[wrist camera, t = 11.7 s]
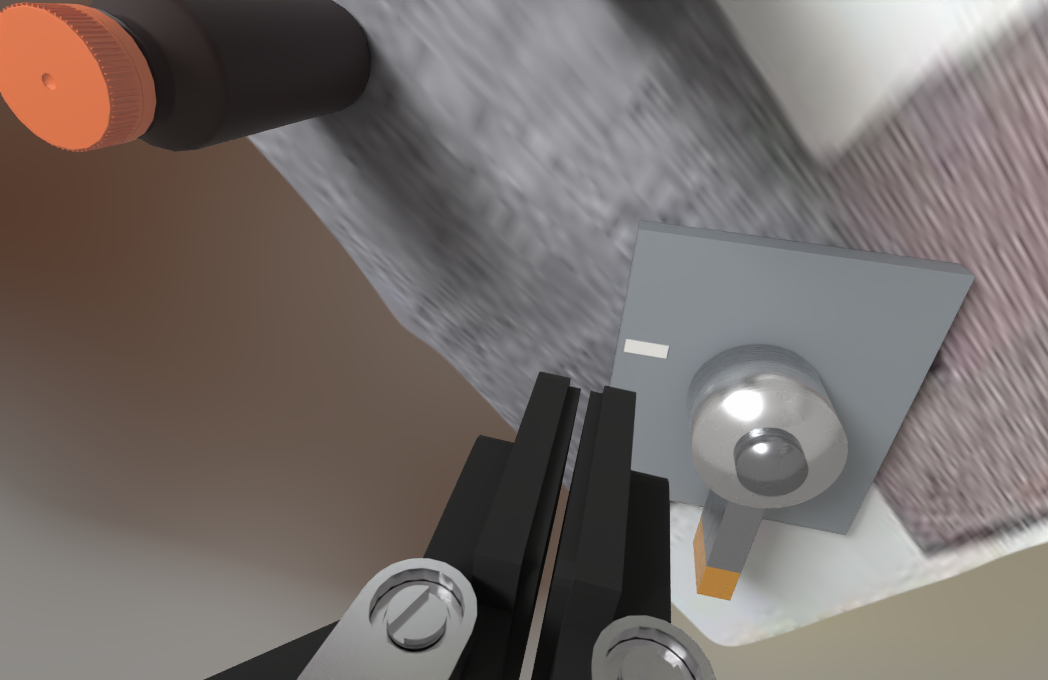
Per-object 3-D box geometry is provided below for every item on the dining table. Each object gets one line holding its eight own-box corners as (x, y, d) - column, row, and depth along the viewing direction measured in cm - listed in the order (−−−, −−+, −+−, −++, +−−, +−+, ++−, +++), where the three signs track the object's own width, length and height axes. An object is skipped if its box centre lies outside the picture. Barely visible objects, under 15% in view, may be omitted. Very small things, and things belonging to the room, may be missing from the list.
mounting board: (960, 264, 36) (976, 276, 35) (838, 516, 47) (846, 536, 45) (639, 220, 39) (639, 229, 37) (594, 468, 50) (591, 485, 48)
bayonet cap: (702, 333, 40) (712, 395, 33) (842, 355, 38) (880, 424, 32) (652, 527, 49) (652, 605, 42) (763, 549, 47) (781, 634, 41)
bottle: (259, 63, 39) (-52, 95, 22) (302, -31, 36) (-24, -82, 19) (342, 132, 40) (107, 213, 23) (391, 46, 37) (160, 66, 20)
